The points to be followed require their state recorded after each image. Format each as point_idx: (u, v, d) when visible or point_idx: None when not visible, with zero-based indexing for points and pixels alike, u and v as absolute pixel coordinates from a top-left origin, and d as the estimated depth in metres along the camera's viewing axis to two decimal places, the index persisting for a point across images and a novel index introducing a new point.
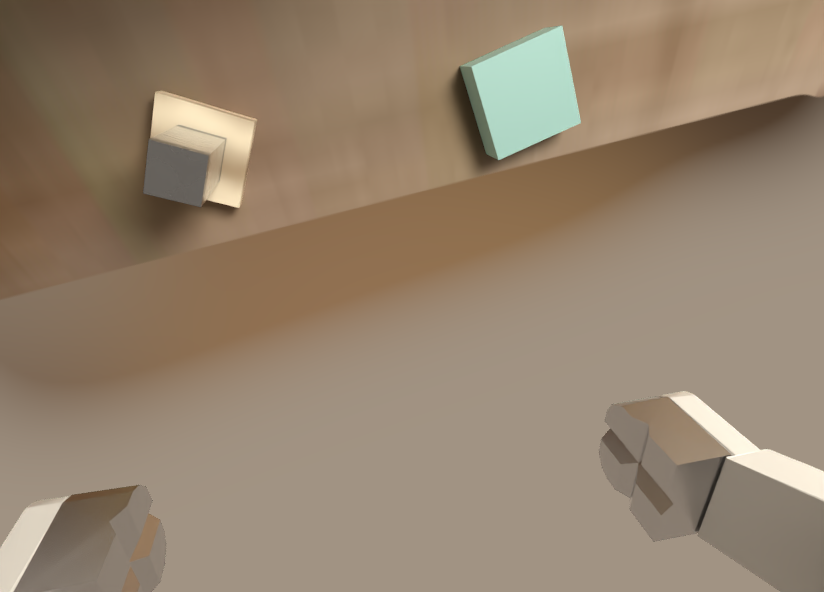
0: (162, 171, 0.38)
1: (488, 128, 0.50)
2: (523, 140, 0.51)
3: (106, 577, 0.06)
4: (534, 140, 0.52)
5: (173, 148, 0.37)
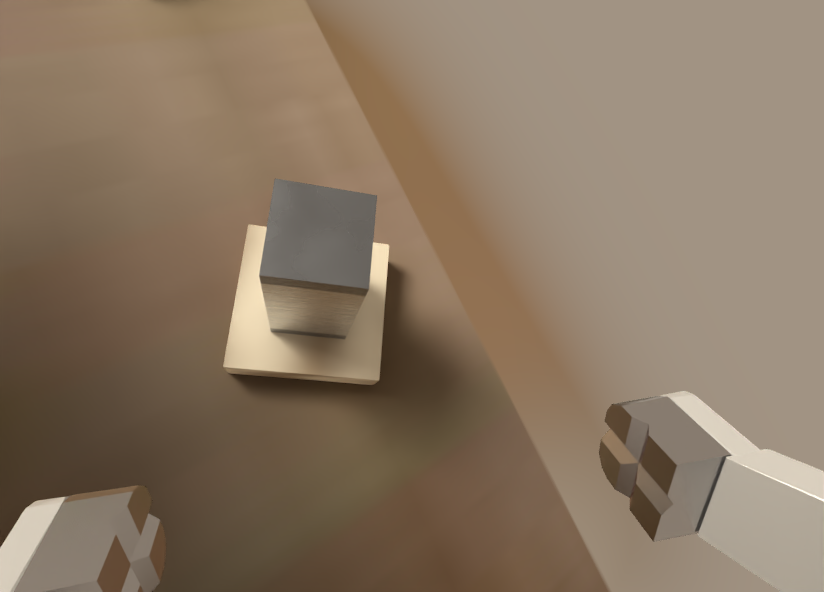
0: (319, 254, 0.19)
1: None
2: None
3: (106, 577, 0.06)
4: None
5: (270, 235, 0.19)
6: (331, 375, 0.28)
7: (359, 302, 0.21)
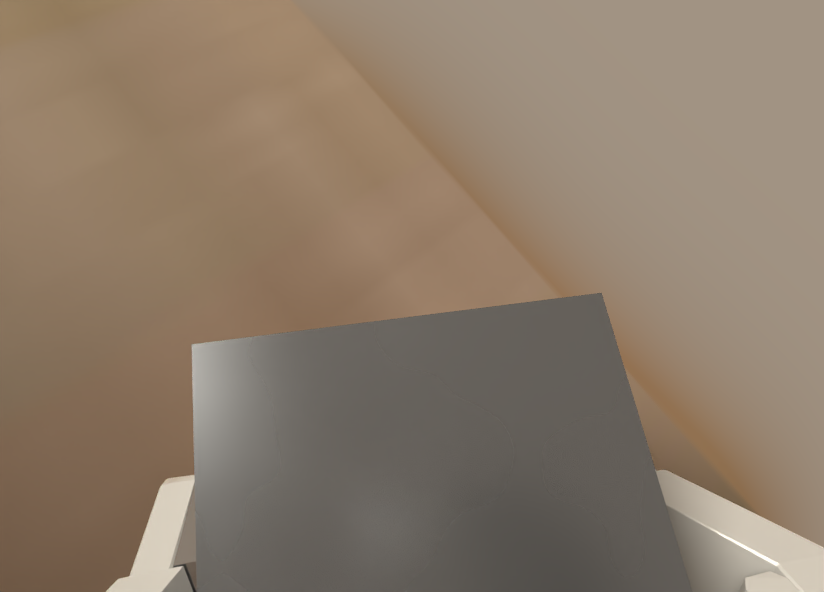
0: None
1: None
2: None
3: None
4: None
5: None
6: None
7: None
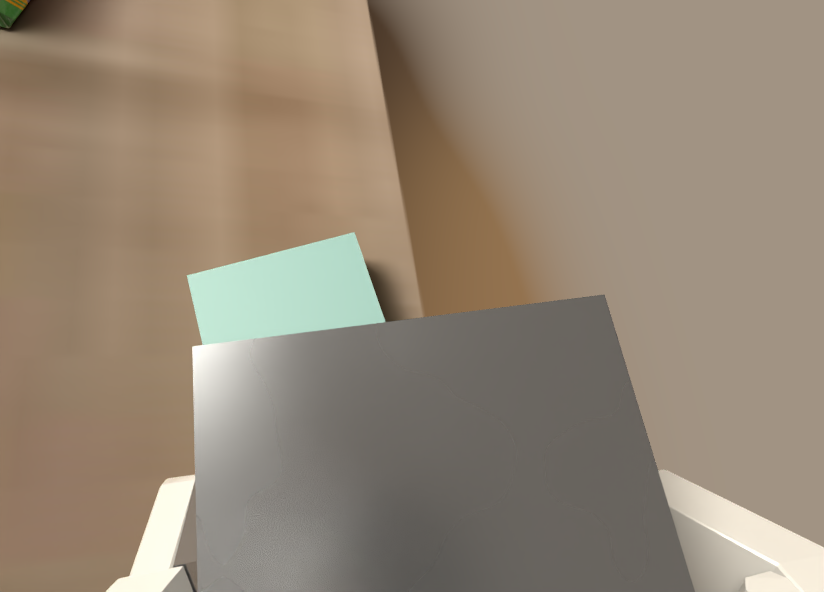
0: None
1: None
2: None
3: None
4: (376, 315, 0.28)
5: None
6: None
7: None
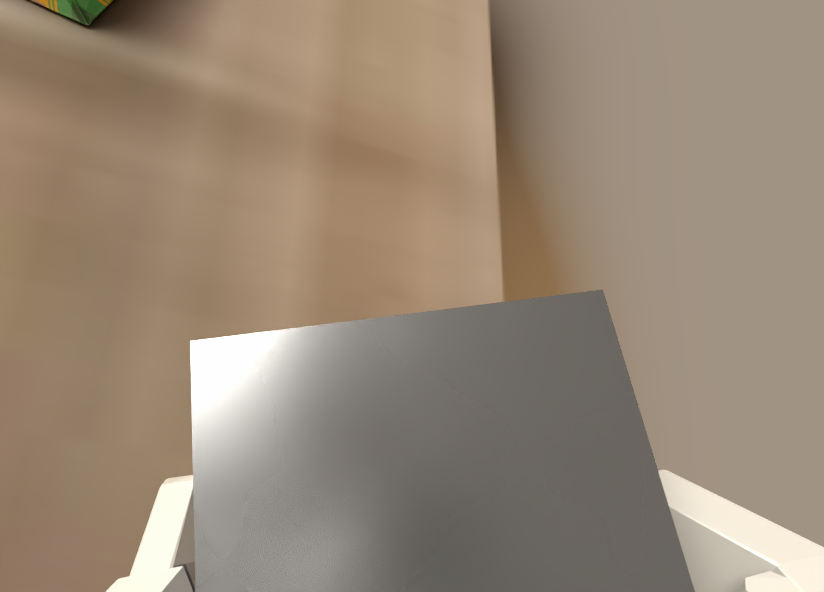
0: None
1: None
2: None
3: None
4: None
5: None
6: None
7: None
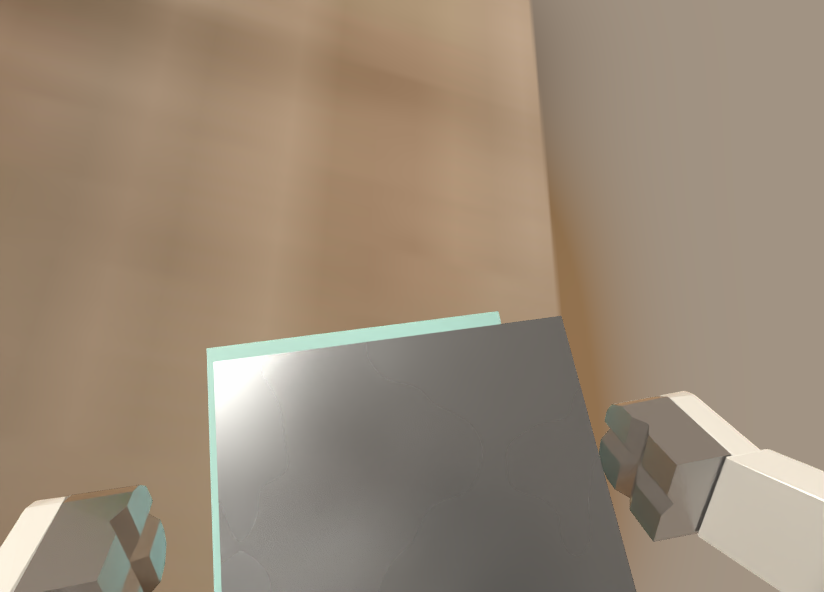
0: None
1: None
2: None
3: (106, 577, 0.06)
4: None
5: None
6: None
7: None
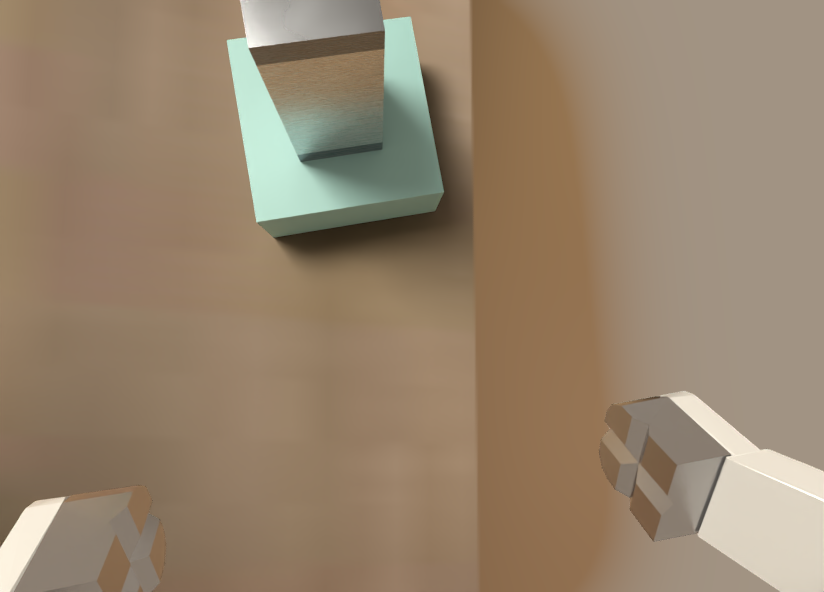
0: (312, 3, 0.15)
1: (377, 204, 0.25)
2: (416, 136, 0.25)
3: (106, 577, 0.06)
4: (422, 113, 0.26)
5: None
6: None
7: (380, 66, 0.17)
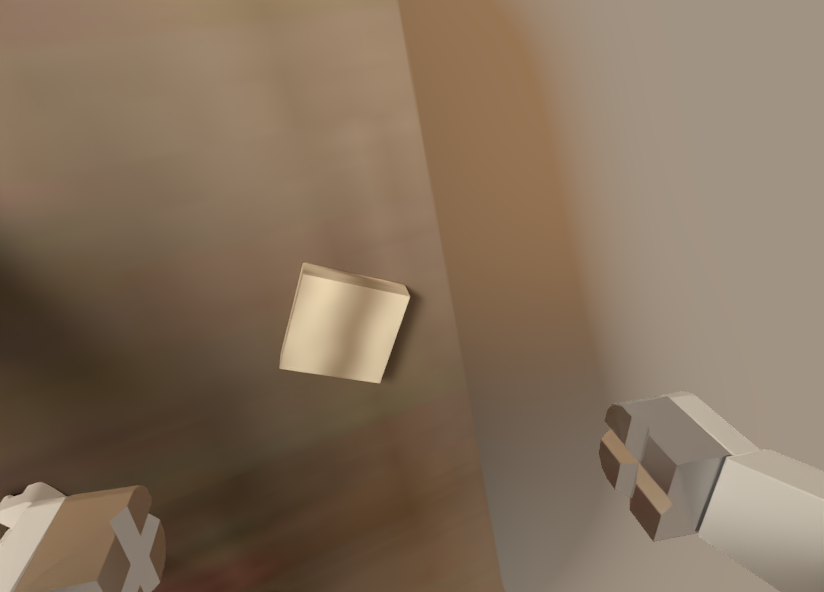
0: None
1: None
2: None
3: (106, 577, 0.06)
4: None
5: None
6: (349, 378, 0.42)
7: None
